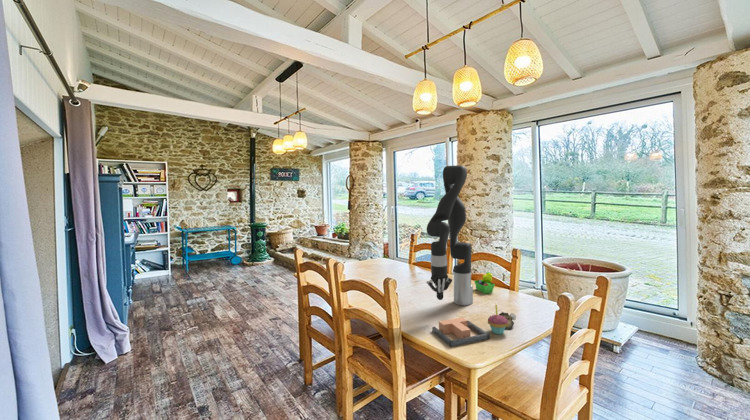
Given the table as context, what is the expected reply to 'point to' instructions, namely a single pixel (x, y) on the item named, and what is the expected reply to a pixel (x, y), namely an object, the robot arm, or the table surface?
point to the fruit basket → (485, 284)
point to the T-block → (455, 327)
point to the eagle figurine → (509, 319)
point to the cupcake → (497, 323)
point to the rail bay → (463, 341)
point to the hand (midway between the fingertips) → (440, 299)
